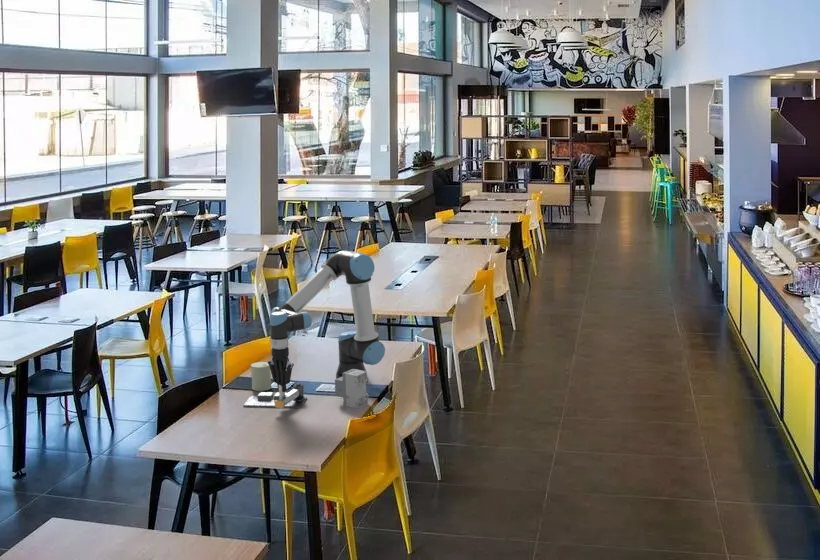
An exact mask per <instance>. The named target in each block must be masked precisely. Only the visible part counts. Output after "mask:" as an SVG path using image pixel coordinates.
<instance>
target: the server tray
mask: <svg viewBox="0 0 820 560" xmlns="http://www.w3.org/2000/svg"><path fill="white" fill-rule="evenodd" d="M287 393H288V392H285V394H287ZM278 399H279V391H278V392H276V393H274V392H272V391H267V392H265V391H259V393H258V394H257V395H251V396H249V397H248V399H247V400H246V401H245V403H243V406H242V407H245V408H276V407H275V400H278ZM307 399H308V397H307V396H304V398H303V399H294V400H292V401H291V402H289V403H288V404H287V405H285V406H284V408H283V409H285V408H286V409H289V408H290V409H301V408H302V407H303V405H304V403H305V402H306V400H307Z"/></svg>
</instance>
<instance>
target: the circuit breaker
mask: <svg viewBox="0 0 820 560" xmlns="http://www.w3.org/2000/svg"><path fill="white" fill-rule="evenodd" d="M351 371H352V372H351ZM366 372H367V373H366ZM342 375H343V377H340V378H338V379H336V378H335V379H334V389H335V390H334V391H335V392H334V393H335V396H337V397H340V398H342V399H343V406H345V407H350V408H353V409H354V408H355V409H360V408H362V407H364V406H366V405H369V393H367V382H368V379H369V378H368V371H367V370H366V371H362V370H357V369H351V370H349V371H346V372H344V373H342ZM365 377H366V379H365Z"/></svg>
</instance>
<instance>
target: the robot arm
mask: <svg viewBox="0 0 820 560" xmlns="http://www.w3.org/2000/svg"><path fill="white" fill-rule="evenodd" d="M374 272H375V263H374V260H373V258H372V257H371V256H370V255H368V254H366V253H363V252H357V251H351V250H347V249H345V250H339V251H337V252H335V253H334V254H332V255H331V256H329V258H327V259H326V260H324V262H323V263H322V264H320V269H319V270H318V271H317V272H316V273H314V274H313V276H311V277H310V278H309V279H308V280H307V281H306V282H305V283H304V284H303V285H301V287H300V288H298V290H297V291H296V292H295V293H294V294H293V295H292V296H291V297H289V299H287V301H285V302H284V303H283V304H282V305H281V306H276V307H273V308H272V309H271V311H270V313H269V329H270V330H269V331H270V332H269V333H270V347H271V349H270V351H271V359H270V360H268V361H267V362H268V364H269V366H270V372H271V377H272V378H271V379H272V380H273V383H275V384H276V385H277V387H276V388H277V391H278V392H279V399H280V398H281V397H283V396H284V395H286V394H285V393H287V385H288V384H290V383H291V379H292V378H291V377H292V371H293V367H294V366H295V364H294V363H291V362H290V359H289V354H290V352H289V351H290V350H289V333H291V332H297V331H302V330H306V329H309V328H310V327H311V326H312V323H313V322H312V316H311V314H310V313H309V312H308V311H302V310H303V309H304V308H305V307H306V306H307V305H308V304H309V303H310V302H311V301H312V300H313V299H314V298H315V297H317V296H318V295H319V293H320V292H322V291H323V290H324V289H325V287H327V286H328V284H330V283H331V282H332V281H336V280H337V279H338V278H339V277H341V276H345V282H346V284H347V285H348V286H349V288H350V295H351V302H352V308H353V317H354V323H355V330H352V331H351V330H350V331H345V332H342V333H340V334H338V339H337V340H338V341H337V343H338V362H339V363H338V366H337V370H336V373H335V379H338V378H340V377H343V375H342V373H344V372H346V371H349V370H351V369H357V370H362V371H367V369H366V366H365V365H370V366H374V365H377V364H379V363H380V362H381V361H382V359H383V358H384V357H385V353H386V347H385V345H384V343H383V342H381V341H380V337H379V333H378V332H376V331H375V324H374V323H375V322H374V316H373V309H372V308H373V307H372V302H371V301H372V300H371V294H370V293H371V292H370V286H369V285H370V282H371V281H372V277H373V275H374ZM351 372H352V371H351ZM366 373H367V374H368V371H367V372H366ZM365 379H366V377H365Z"/></svg>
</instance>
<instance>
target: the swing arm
mask: <svg viewBox="0 0 820 560" xmlns="http://www.w3.org/2000/svg"><path fill="white" fill-rule="evenodd" d="M304 390H305V389H304V384H302V383H300V382H297V383H296V384H294V385H293V388H292V389H291V390H289V392H286V393H287V394H286V395H284V396H283V397H281V398H280V399H278V400H275V407H274V408H277V409H278V408H279V409H285V408H284V406H285V405H287V404H288V403H289V402H291V401H292V400H294V399H303V398H304V397H305V395H304V394H305V393H304Z"/></svg>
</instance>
